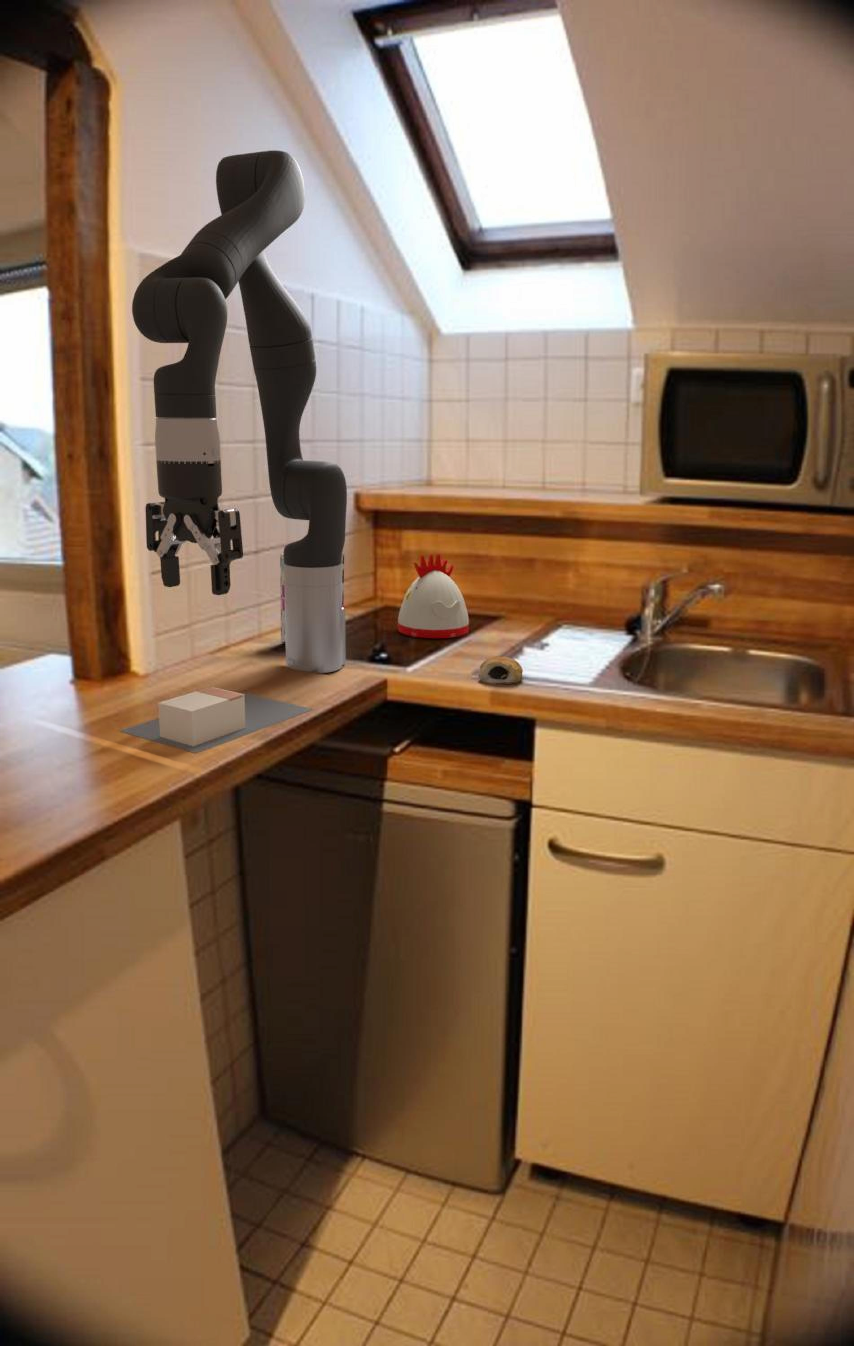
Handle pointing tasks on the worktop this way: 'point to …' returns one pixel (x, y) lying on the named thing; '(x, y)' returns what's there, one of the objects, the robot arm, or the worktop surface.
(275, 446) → the robot arm
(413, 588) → the kitchen timer
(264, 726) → the mat
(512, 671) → the pastry
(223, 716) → the card deck
